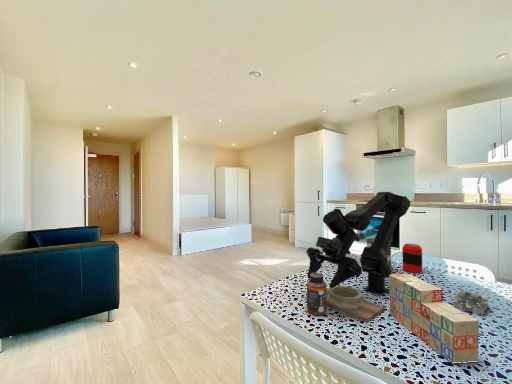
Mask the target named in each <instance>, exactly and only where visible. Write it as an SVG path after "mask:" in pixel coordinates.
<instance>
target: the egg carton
mask: <svg viewBox="0 0 512 384" xmlns="http://www.w3.org/2000/svg"><path fill="white" fill-rule="evenodd" d="M452 299H453V302H454V308H456V309H457V308H458V310H461V311H462V312H464V311H463V310H467V311H466V312H468V311H470V312H469V313H471V312H472V313H471V314H472V315H474V314H476V315H475V316H482V315H483V314H484V315H485V312H486V310H487V308H486V307H488V304H490V301H489V298H488V297H482V295H477V294H475V293H472V292H468V291H465V290H464V289H460V291H459V292H457V293H456V294H455V295H454V296H452ZM464 300H468V301H467V303H465V301H464ZM461 303H463V304H461ZM477 303H479V304H477ZM484 311H485V312H484ZM479 314H481V315H479ZM484 315H483V316H484Z"/></svg>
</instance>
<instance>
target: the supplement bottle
mask: <svg viewBox="0 0 512 384" xmlns="http://www.w3.org/2000/svg"><path fill="white" fill-rule="evenodd" d="M326 289H327V283H326V282H325V280H324V274H322V273H320V272H316V273H311V274H310V279H308V280H307V282H306V310H307V312H308V313H310V314H311V315H314V316H323V315H325V314H326V313H327V310H328V309H327V307H328V306H327V300H326V294H327V293H326Z"/></svg>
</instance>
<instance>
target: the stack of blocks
mask: <svg viewBox="0 0 512 384" xmlns="http://www.w3.org/2000/svg"><path fill="white" fill-rule="evenodd" d="M388 280H389V282H388V283H389V286H388V287H389V288H388V289H389V291H388V293H389V315H390V316H391V317H393V318H394V319H395V320H396V321H397V322H399V324H401V325H402V326H403V327H405V328H406V329H407V330H409V332H412V334H414V335H415V336H417V337H418V338H419V339H421V341H423V342H424V343H426V344H427V345H428V346H429V347H430V348H432V349H433V350H434V351H435V350H436V351H435V352H437V353H438V354H439V355H441V356H442V357H443V356H444V357H445V358H447V359H449V360H451V361H452V362H457V363H458V362H467V361H478V362H479V349H480V348H479V334H480V326H479V325H480V323H479V322H480V321H479V319H477V318H475V317H473V316H472V315H470V314H468V313H465V311H460V310H458V309H457V308H455V306H453V305H451V304H448V303H447V302H444V299H443V296H444V295H443V289H442V288H440V287H439V286H435V285H433V284H432V283H429V282H427V281H426V280H422V279H420V278H418V277H416V276H415V275H412V274H411V273H399V274H397V273H395V274H391V275H389V278H388ZM444 357H443V358H444ZM445 358H444V359H445ZM447 359H446V360H447Z"/></svg>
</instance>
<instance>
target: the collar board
mask: <svg viewBox="0 0 512 384" xmlns="http://www.w3.org/2000/svg"><path fill="white" fill-rule="evenodd" d="M326 293H327V294H326V300H327V307H329V308H332V309H334V310H336V311H338V312H341V313H343V314H345V315H348V316H350V317H352V318H355V319H356V320H359V321H361V322H364V323H368V322H370V321H371V320H373V319H374V318H376V317H377V316H379V315H380V314H382V313H384V312H385V310H386V309H385V307H384V306H383V305H379V304H376V303H374V302H370V301H367V300H365V299H364V295H363V293H362V292H361V290H360V289H357V288H354V287H351V286H346V285H337V286H335V287H334V288H330V287H326Z"/></svg>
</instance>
